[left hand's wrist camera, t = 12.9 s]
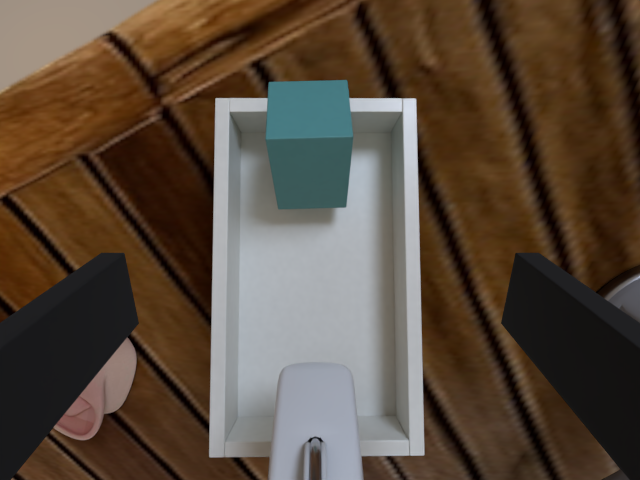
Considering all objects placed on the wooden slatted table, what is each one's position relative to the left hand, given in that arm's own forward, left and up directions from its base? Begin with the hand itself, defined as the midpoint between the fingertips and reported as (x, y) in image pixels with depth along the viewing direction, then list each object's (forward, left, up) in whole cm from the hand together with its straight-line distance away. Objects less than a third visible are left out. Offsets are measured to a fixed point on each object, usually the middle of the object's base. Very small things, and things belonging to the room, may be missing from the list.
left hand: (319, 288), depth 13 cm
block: (0, 0, -17) cm, 17 cm away
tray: (-6, +4, -16) cm, 17 cm away
